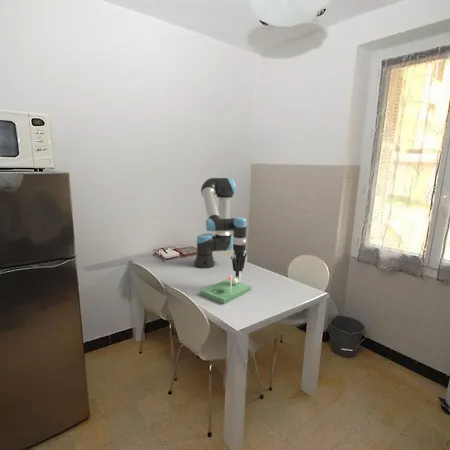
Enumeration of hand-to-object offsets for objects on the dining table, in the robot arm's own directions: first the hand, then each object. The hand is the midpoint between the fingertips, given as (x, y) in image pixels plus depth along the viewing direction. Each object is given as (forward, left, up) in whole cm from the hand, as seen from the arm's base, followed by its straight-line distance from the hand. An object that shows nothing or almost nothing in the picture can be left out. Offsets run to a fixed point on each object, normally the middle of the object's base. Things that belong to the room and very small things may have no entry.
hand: (238, 281), depth 181 cm
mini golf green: (0, -11, -4) cm, 12 cm away
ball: (0, -3, +1) cm, 3 cm away
